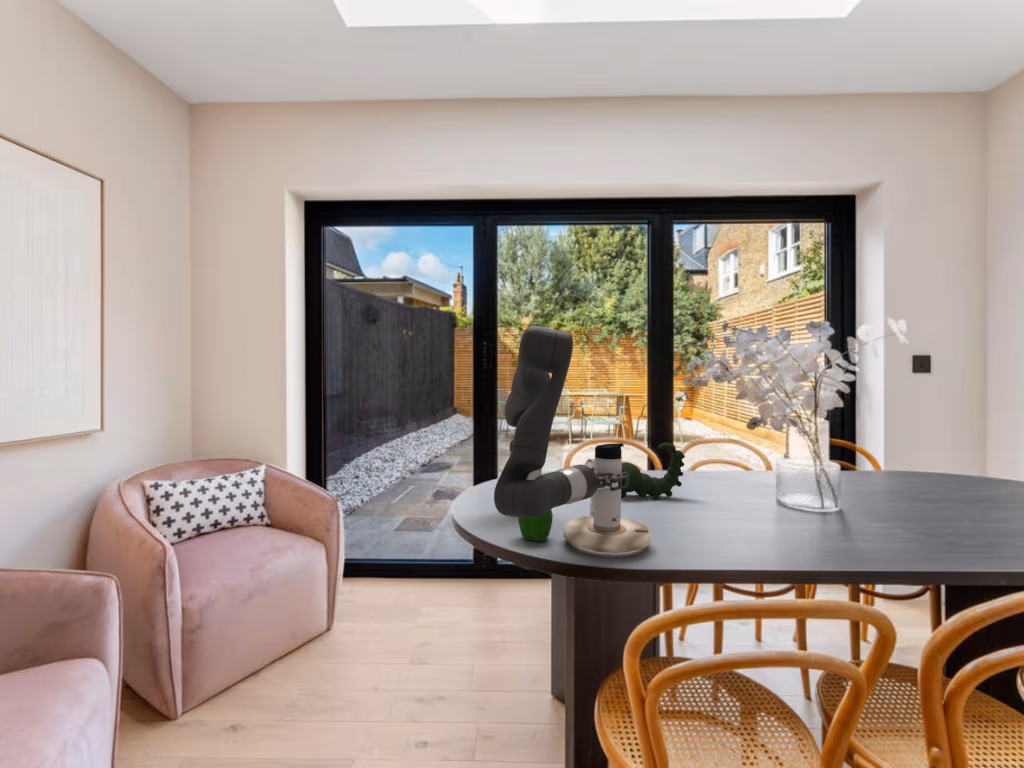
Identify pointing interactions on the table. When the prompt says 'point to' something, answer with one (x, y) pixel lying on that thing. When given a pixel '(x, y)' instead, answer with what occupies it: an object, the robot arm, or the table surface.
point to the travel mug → (607, 489)
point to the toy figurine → (652, 484)
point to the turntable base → (606, 554)
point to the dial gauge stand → (591, 464)
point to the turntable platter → (607, 535)
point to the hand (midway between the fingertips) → (612, 473)
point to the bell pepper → (536, 527)
